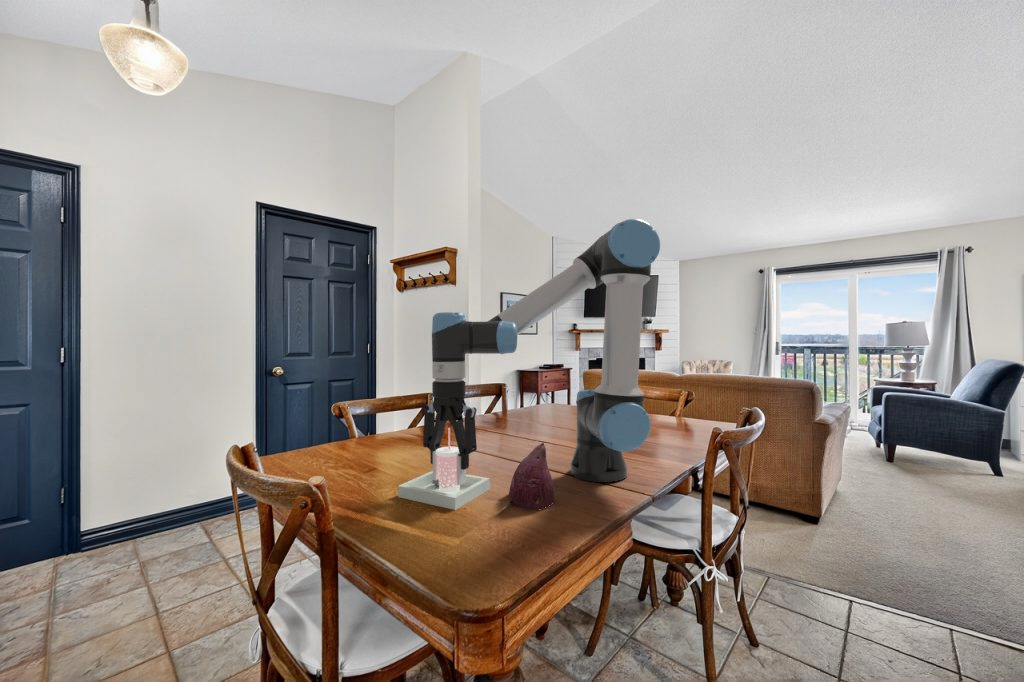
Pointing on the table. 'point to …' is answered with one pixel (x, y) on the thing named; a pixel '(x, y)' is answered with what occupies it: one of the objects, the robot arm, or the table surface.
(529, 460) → the vegetable
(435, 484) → the ball
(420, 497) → the tray
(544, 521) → the table surface
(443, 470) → the beverage cup
